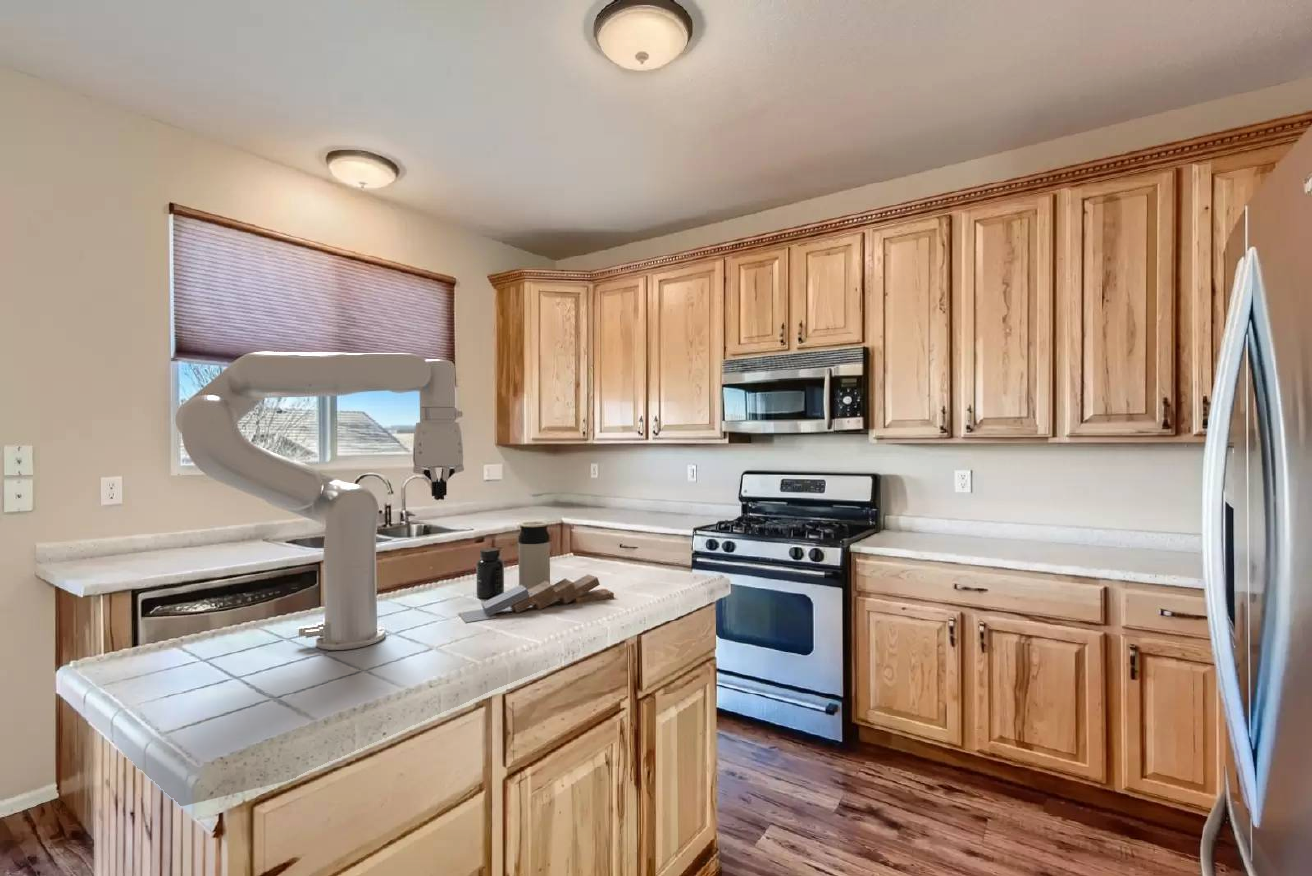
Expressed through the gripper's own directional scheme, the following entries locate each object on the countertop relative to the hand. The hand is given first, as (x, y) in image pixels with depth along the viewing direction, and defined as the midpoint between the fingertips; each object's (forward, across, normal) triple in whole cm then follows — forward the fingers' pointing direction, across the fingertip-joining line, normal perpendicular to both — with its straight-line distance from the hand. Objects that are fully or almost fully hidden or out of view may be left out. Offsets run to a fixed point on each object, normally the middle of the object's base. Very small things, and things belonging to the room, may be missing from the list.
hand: (439, 499), depth 138 cm
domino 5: (+27, -31, 0) cm, 41 cm away
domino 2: (+26, -16, 0) cm, 31 cm away
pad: (+27, -8, 0) cm, 28 cm away
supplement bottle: (+27, -15, -16) cm, 35 cm away
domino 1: (+26, -10, 0) cm, 28 cm away
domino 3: (+26, -21, 0) cm, 34 cm away
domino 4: (+26, -28, 0) cm, 38 cm away
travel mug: (+27, -26, -14) cm, 40 cm away
